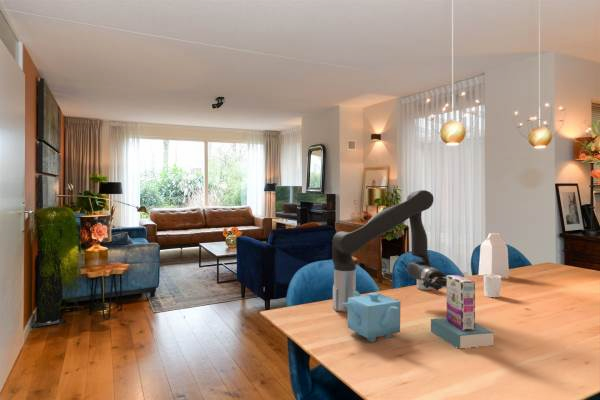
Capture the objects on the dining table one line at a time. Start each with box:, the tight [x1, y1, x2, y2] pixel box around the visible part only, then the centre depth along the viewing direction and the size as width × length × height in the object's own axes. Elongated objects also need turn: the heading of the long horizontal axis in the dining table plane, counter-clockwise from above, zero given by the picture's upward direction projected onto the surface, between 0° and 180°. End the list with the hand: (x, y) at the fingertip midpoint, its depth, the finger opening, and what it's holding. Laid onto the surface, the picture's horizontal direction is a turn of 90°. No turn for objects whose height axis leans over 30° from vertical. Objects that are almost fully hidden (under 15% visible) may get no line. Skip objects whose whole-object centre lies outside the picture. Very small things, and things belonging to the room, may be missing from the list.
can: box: [416, 279, 432, 291], centre depth 203 cm, size 8×8×12 cm
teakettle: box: [341, 290, 402, 343], centre depth 137 cm, size 19×19×15 cm
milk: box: [478, 232, 510, 277], centre depth 234 cm, size 12×12×26 cm
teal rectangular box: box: [430, 317, 494, 350], centre depth 135 cm, size 13×16×5 cm
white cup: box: [483, 274, 502, 299], centre depth 190 cm, size 8×8×10 cm
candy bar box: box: [445, 274, 476, 331], centre depth 134 cm, size 11×5×16 cm, turn 6°
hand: (449, 287), depth 143 cm, fingers open, 8 cm apart
